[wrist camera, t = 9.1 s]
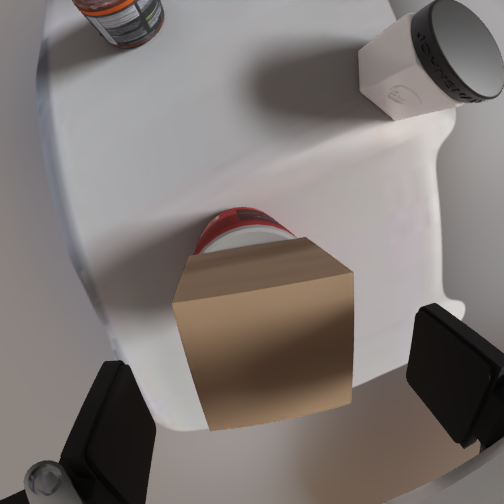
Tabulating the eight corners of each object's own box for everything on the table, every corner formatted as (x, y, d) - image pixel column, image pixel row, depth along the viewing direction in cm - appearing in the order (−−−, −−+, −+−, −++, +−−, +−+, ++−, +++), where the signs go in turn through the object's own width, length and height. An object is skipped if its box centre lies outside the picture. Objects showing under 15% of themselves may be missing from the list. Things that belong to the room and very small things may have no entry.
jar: (338, 79, 24) (409, 30, 12) (372, 28, 23) (439, -23, 11) (408, 137, 26) (497, 127, 14) (435, 83, 24) (514, 61, 13)
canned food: (201, 297, 27) (192, 367, 17) (193, 208, 25) (175, 231, 15) (284, 291, 28) (320, 355, 17) (283, 203, 26) (326, 222, 16)
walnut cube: (188, 255, 15) (171, 303, 9) (305, 236, 16) (353, 272, 10) (211, 355, 17) (210, 431, 11) (313, 337, 17) (350, 403, 11)
